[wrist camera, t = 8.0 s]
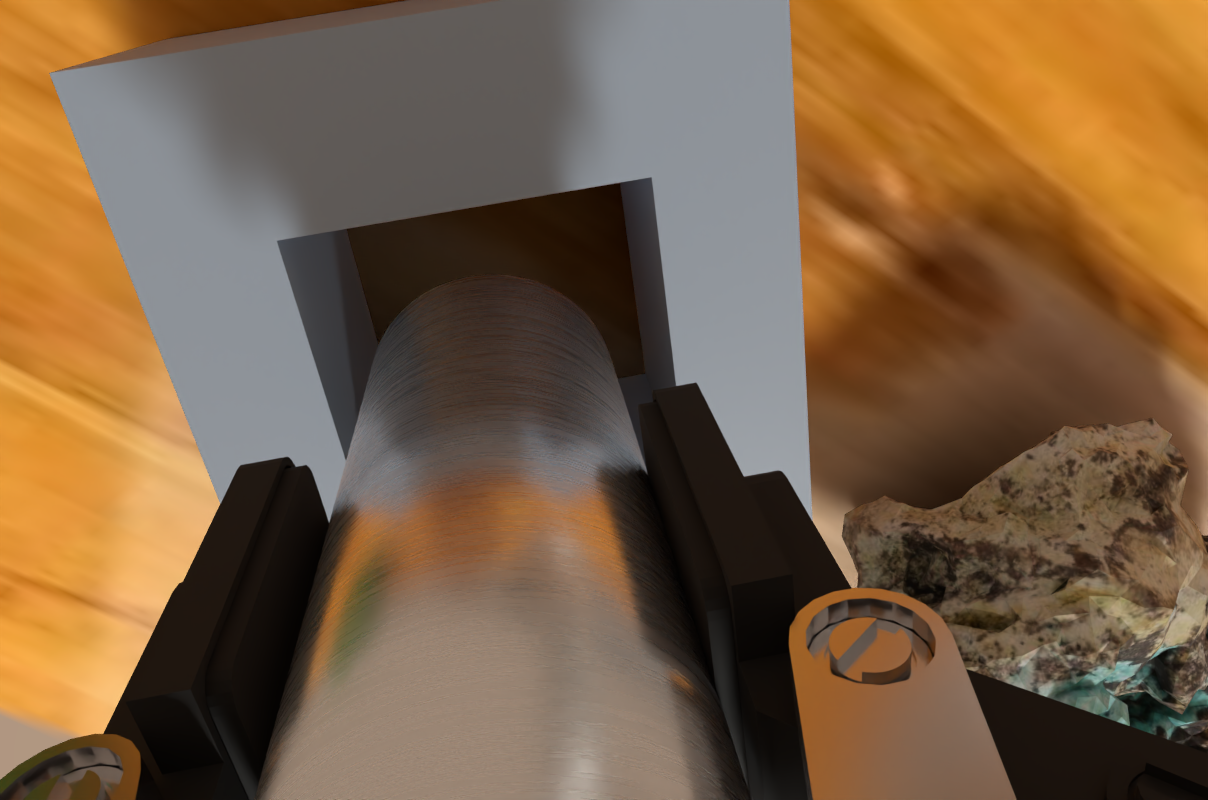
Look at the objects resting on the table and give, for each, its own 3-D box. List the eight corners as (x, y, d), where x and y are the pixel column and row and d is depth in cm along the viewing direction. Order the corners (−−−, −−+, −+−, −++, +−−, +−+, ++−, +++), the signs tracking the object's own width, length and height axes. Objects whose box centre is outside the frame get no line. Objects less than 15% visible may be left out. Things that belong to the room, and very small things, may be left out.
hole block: (167, 38, 17) (49, 72, 12) (708, -48, 17) (787, -46, 13) (333, 534, 22) (293, 687, 17) (749, 458, 22) (815, 589, 18)
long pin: (341, 298, 14) (-94, 1357, 3) (595, 254, 14) (929, 1133, 4) (403, 512, 16) (240, 1649, 5) (628, 471, 16) (917, 1490, 5)
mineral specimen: (751, 568, 22) (922, 913, 17) (1080, 324, 19) (1414, 648, 14) (947, 665, 31) (1105, 919, 25) (1200, 503, 28) (1440, 752, 22)
